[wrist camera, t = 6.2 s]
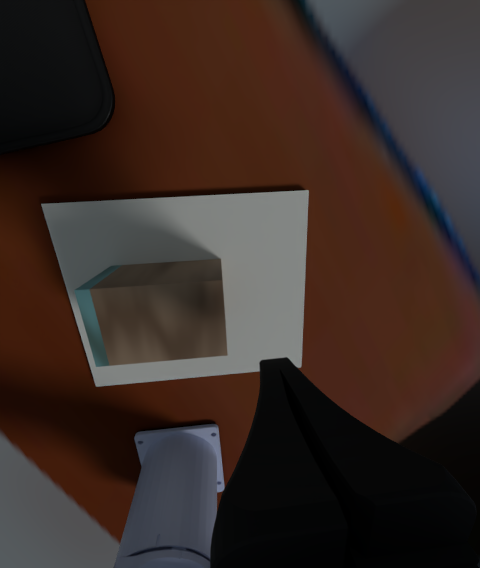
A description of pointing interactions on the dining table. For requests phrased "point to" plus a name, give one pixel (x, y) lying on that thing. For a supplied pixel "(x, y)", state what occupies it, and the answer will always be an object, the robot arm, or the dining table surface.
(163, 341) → the teal and wood block
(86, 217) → the mat
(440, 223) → the dining table surface
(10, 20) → the carrying case or bag
